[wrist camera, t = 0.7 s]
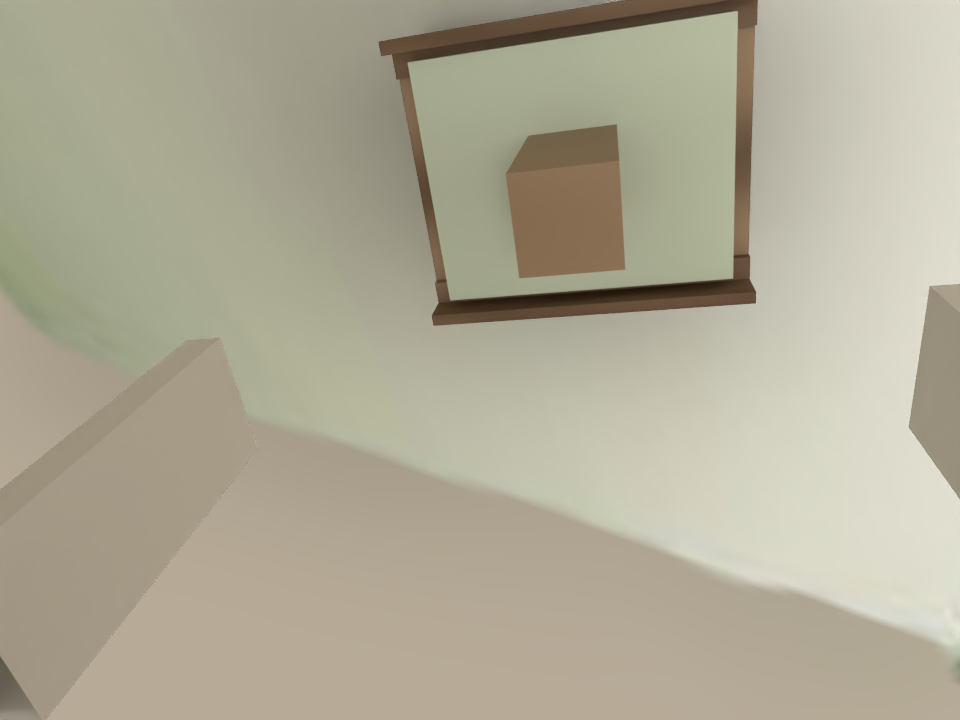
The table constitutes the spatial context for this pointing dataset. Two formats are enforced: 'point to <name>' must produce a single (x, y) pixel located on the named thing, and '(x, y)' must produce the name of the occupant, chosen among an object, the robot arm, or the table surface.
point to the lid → (584, 159)
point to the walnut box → (641, 6)
